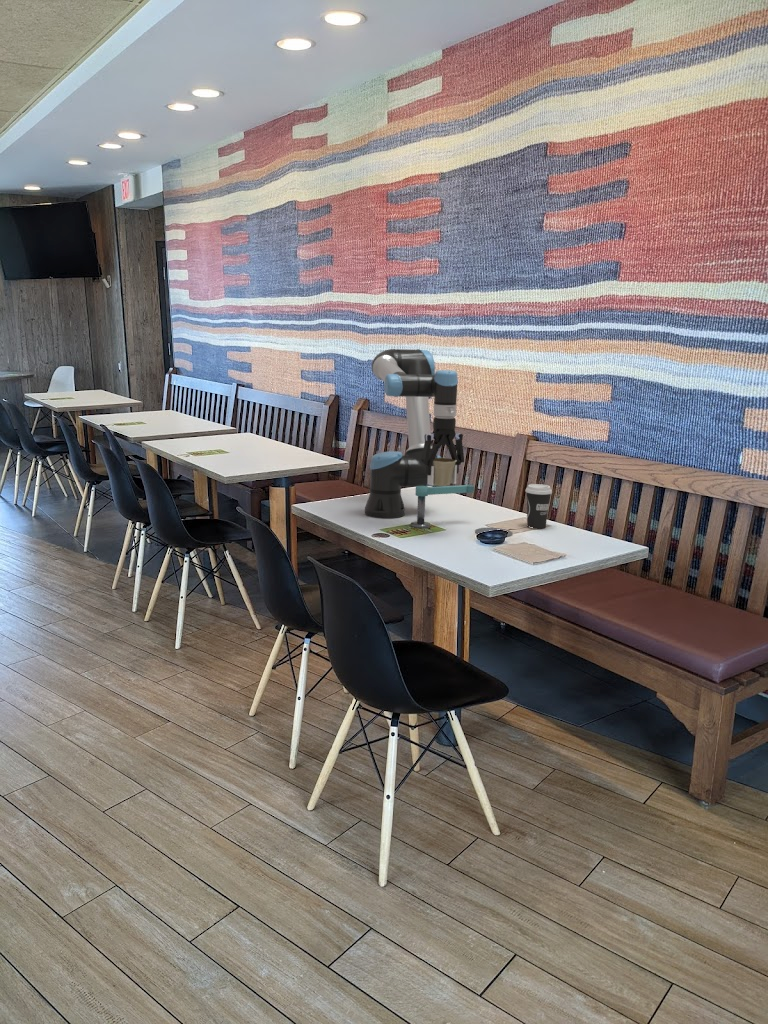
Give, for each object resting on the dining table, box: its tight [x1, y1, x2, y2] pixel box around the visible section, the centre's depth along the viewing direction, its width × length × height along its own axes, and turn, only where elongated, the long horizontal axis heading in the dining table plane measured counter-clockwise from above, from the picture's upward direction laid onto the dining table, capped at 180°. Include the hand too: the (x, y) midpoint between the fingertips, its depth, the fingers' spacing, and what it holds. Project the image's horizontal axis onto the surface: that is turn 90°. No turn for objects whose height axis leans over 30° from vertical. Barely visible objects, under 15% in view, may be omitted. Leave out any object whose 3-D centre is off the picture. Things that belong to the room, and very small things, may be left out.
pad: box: [474, 527, 513, 538], centre depth 288 cm, size 13×13×1 cm
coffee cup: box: [525, 483, 553, 530], centre depth 297 cm, size 10×10×15 cm
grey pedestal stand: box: [410, 496, 431, 530], centre depth 294 cm, size 7×7×11 cm
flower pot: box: [432, 457, 457, 487], centre depth 281 cm, size 9×9×9 cm
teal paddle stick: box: [414, 484, 475, 497], centre depth 296 cm, size 22×4×3 cm, turn 112°
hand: (441, 483), depth 282 cm, fingers closed on flower pot, 8 cm apart
